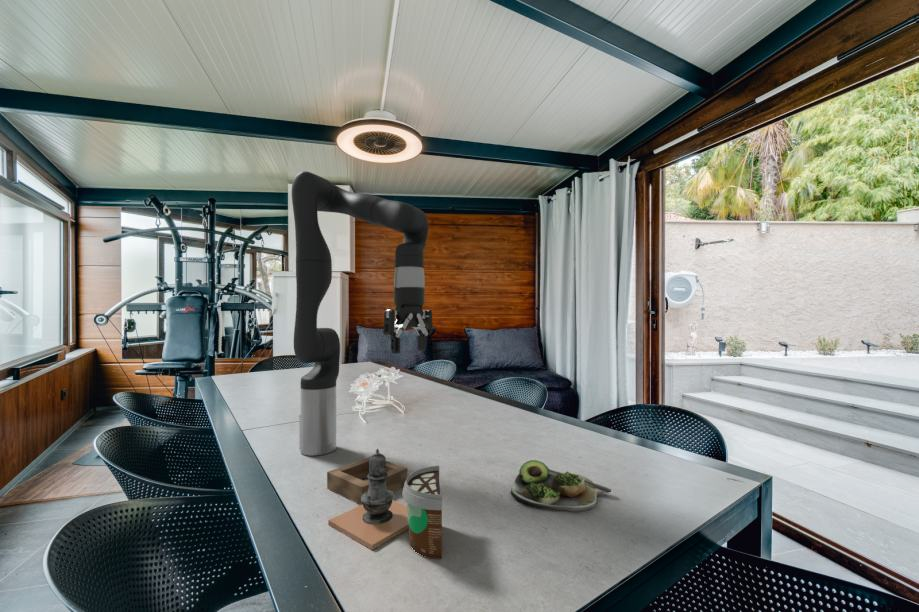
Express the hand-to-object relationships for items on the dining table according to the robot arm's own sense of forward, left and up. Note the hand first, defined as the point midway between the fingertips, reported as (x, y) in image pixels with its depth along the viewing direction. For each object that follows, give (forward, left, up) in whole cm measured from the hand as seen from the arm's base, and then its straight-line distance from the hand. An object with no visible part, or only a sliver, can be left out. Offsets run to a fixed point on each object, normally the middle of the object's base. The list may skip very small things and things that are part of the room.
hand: (409, 351), depth 97 cm
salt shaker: (+15, -22, -27) cm, 38 cm away
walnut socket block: (+2, -14, -28) cm, 31 cm away
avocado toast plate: (+34, +8, -28) cm, 45 cm away
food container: (+25, -22, -28) cm, 44 cm away
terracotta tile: (+15, -22, -28) cm, 38 cm away
